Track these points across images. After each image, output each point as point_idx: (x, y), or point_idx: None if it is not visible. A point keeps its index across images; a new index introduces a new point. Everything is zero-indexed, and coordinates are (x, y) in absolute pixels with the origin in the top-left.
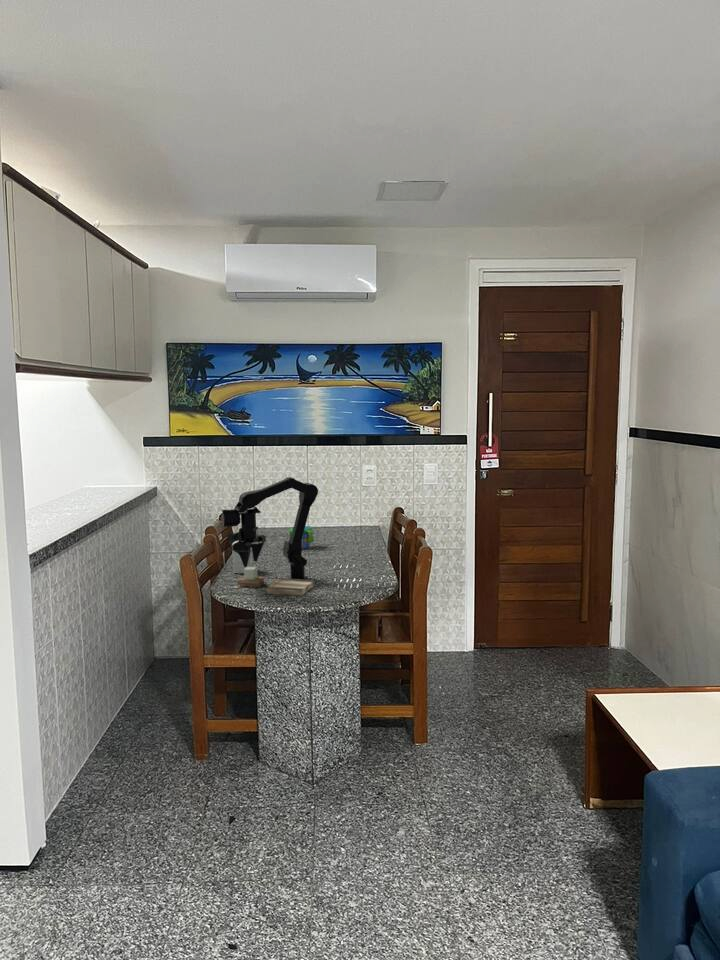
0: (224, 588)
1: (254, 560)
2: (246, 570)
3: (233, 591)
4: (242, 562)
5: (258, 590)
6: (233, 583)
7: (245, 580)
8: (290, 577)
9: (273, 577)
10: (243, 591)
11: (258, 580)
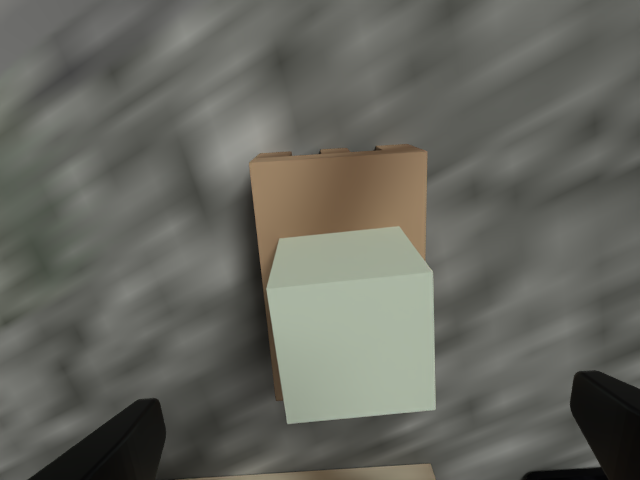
0: (141, 50)
1: (586, 388)
2: (273, 324)
3: (84, 208)
4: (61, 455)
5: (200, 393)
6: (358, 39)
7: (261, 263)
8: (596, 477)
9: (636, 325)
10: (124, 295)
11: (279, 399)
